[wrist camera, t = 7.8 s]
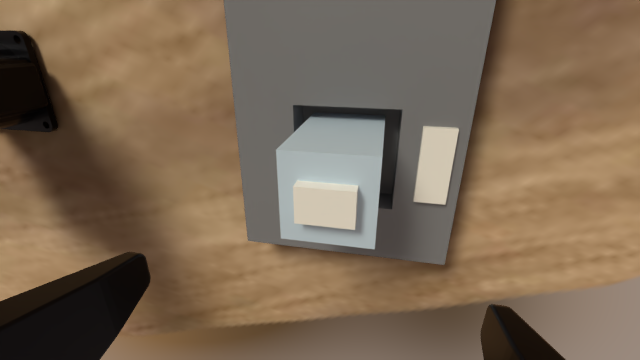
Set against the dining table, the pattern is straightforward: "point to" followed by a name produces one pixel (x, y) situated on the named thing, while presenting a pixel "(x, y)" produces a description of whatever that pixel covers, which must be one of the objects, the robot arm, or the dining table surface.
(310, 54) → the panel
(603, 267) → the dining table surface
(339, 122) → the plug
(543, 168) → the dining table surface
